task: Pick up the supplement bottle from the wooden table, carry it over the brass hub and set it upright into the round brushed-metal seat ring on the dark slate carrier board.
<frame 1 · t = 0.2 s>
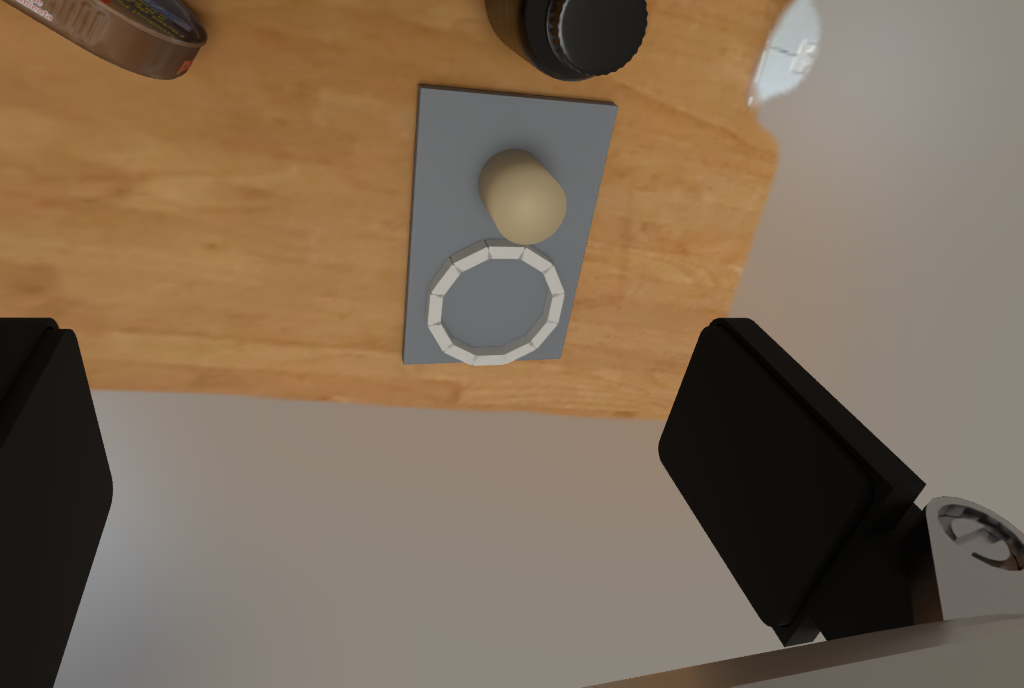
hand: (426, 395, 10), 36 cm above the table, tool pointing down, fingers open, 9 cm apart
carrier board: (499, 240, 49), on the table
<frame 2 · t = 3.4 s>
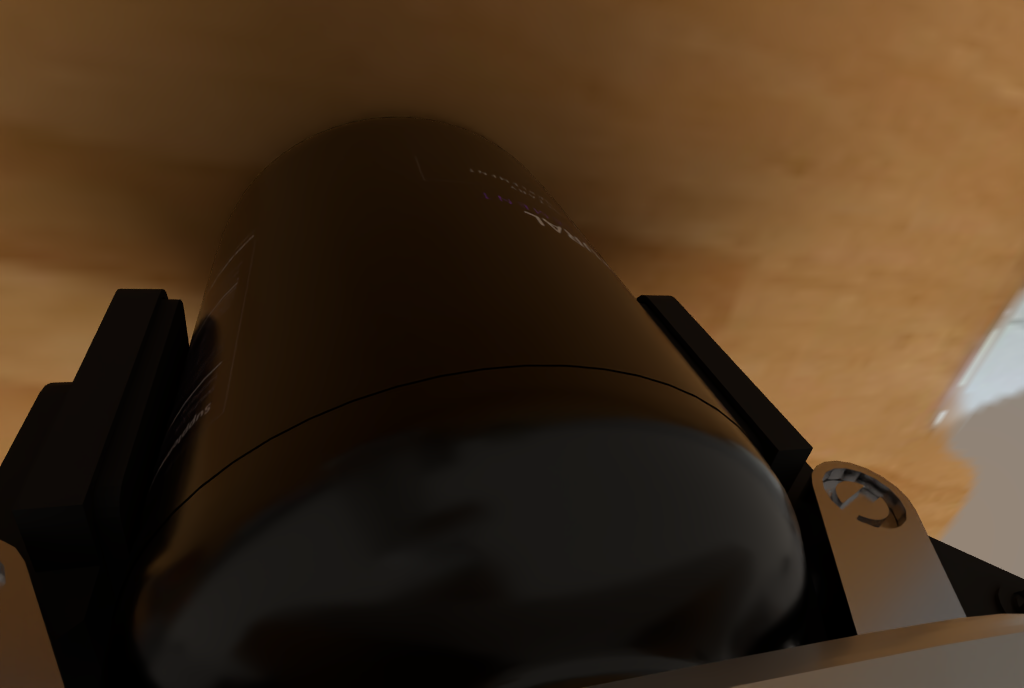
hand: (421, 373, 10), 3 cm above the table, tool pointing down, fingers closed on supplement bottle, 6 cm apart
supplement bottle: (396, 271, 13), on the table, touching gripper
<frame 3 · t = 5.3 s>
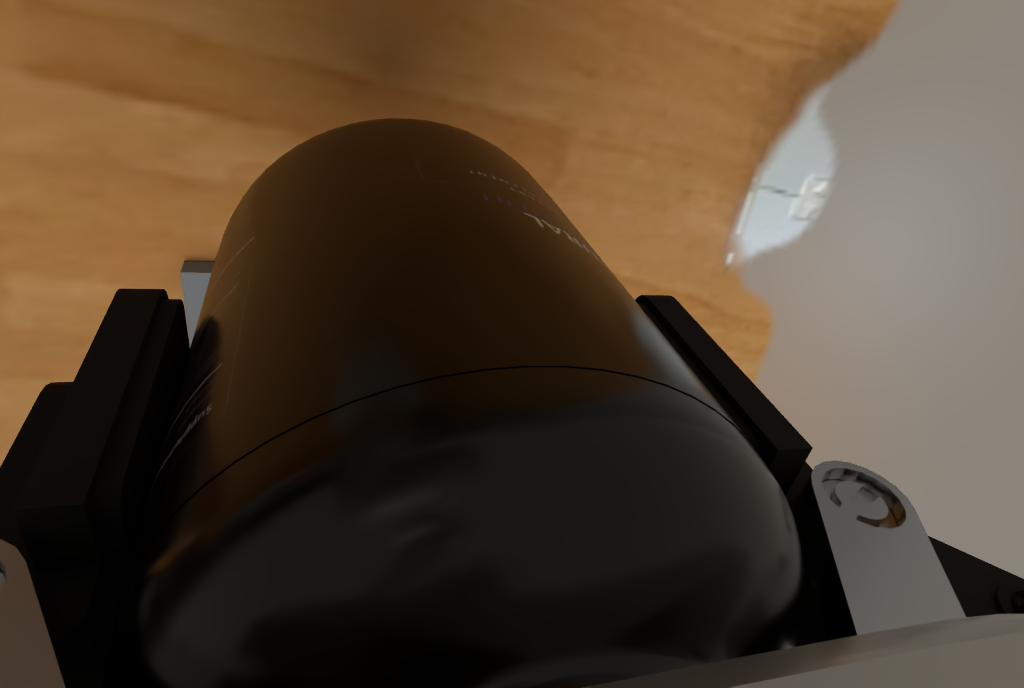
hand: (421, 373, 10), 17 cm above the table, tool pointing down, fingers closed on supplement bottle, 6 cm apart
carrier board: (356, 455, 33), on the table
supplement bottle: (396, 272, 13), point 14 cm above the table, touching gripper
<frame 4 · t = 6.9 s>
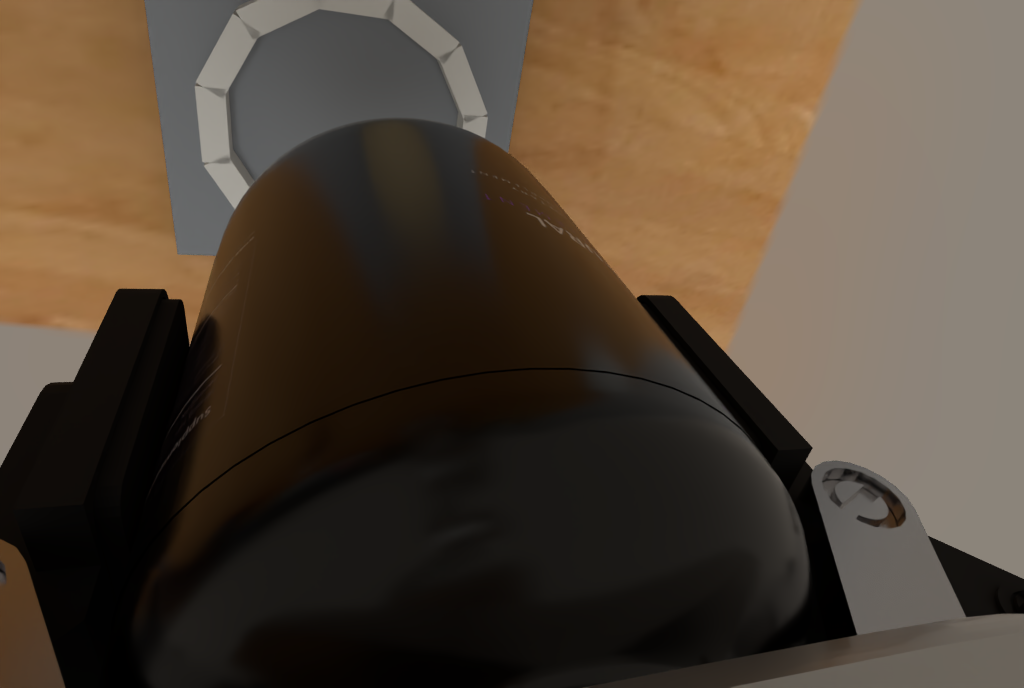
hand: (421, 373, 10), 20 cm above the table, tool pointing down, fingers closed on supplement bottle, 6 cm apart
supplement bottle: (397, 272, 13), point 17 cm above the table, touching gripper
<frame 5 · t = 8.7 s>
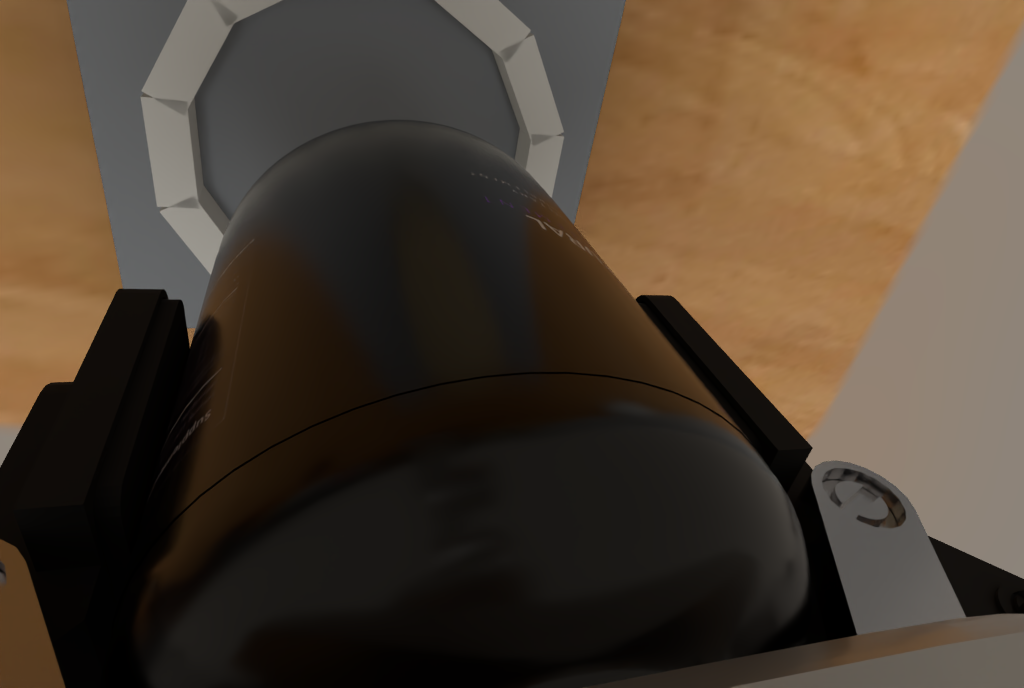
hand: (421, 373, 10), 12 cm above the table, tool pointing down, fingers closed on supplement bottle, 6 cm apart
supplement bottle: (397, 274, 13), point 8 cm above the table, touching gripper
when the fingers open (5 cm above the table, at t = 10.4 s): supplement bottle stays where it is, resting on carrier board.
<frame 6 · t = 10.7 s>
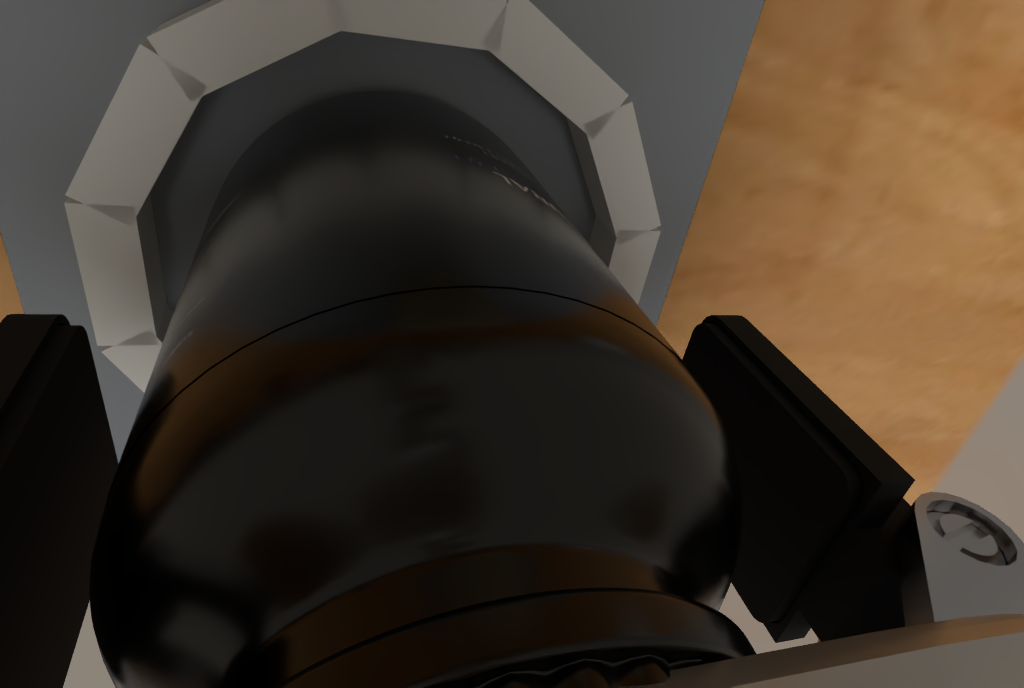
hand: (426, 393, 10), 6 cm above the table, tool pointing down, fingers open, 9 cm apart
supplement bottle: (382, 244, 14), point 1 cm above the table, touching carrier board
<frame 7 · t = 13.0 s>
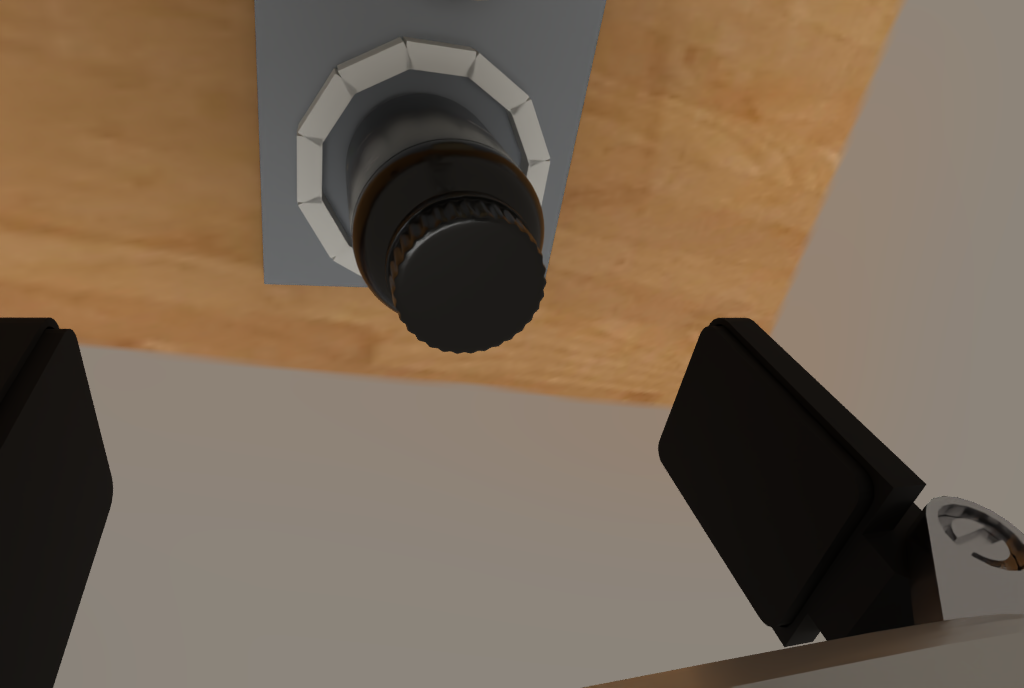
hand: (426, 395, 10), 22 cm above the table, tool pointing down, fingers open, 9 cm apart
carrier board: (432, 50, 27), on the table
supplement bottle: (419, 166, 29), point 1 cm above the table, touching carrier board
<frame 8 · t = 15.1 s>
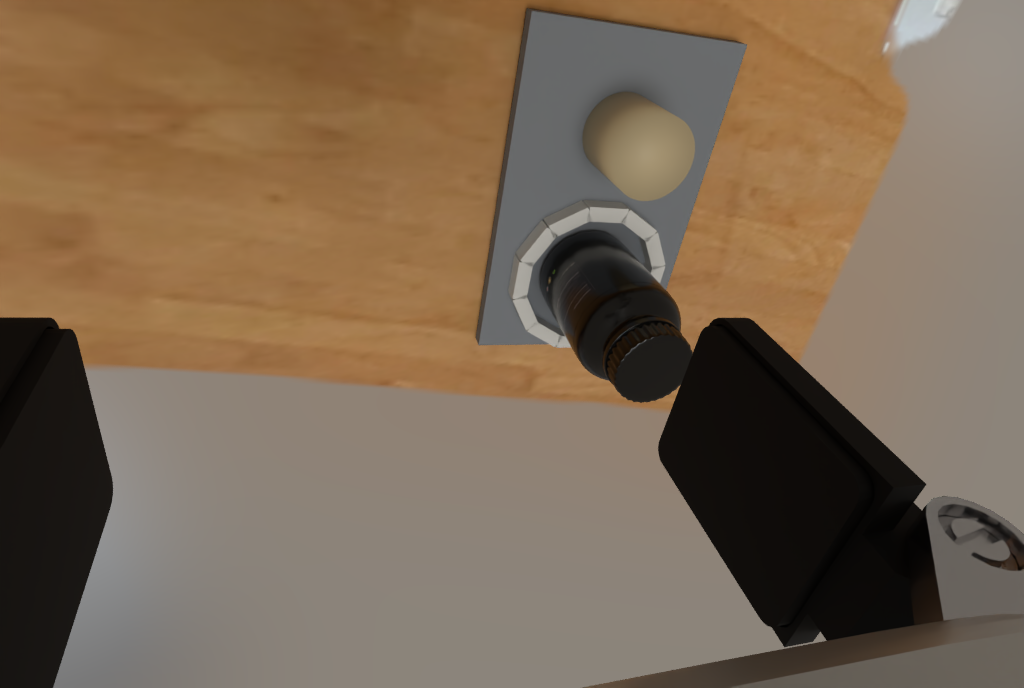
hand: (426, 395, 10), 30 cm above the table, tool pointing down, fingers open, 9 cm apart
carrier board: (595, 202, 43), on the table
supplement bottle: (581, 270, 45), point 1 cm above the table, touching carrier board
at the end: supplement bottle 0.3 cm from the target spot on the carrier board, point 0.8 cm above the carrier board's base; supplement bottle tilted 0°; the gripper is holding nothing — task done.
